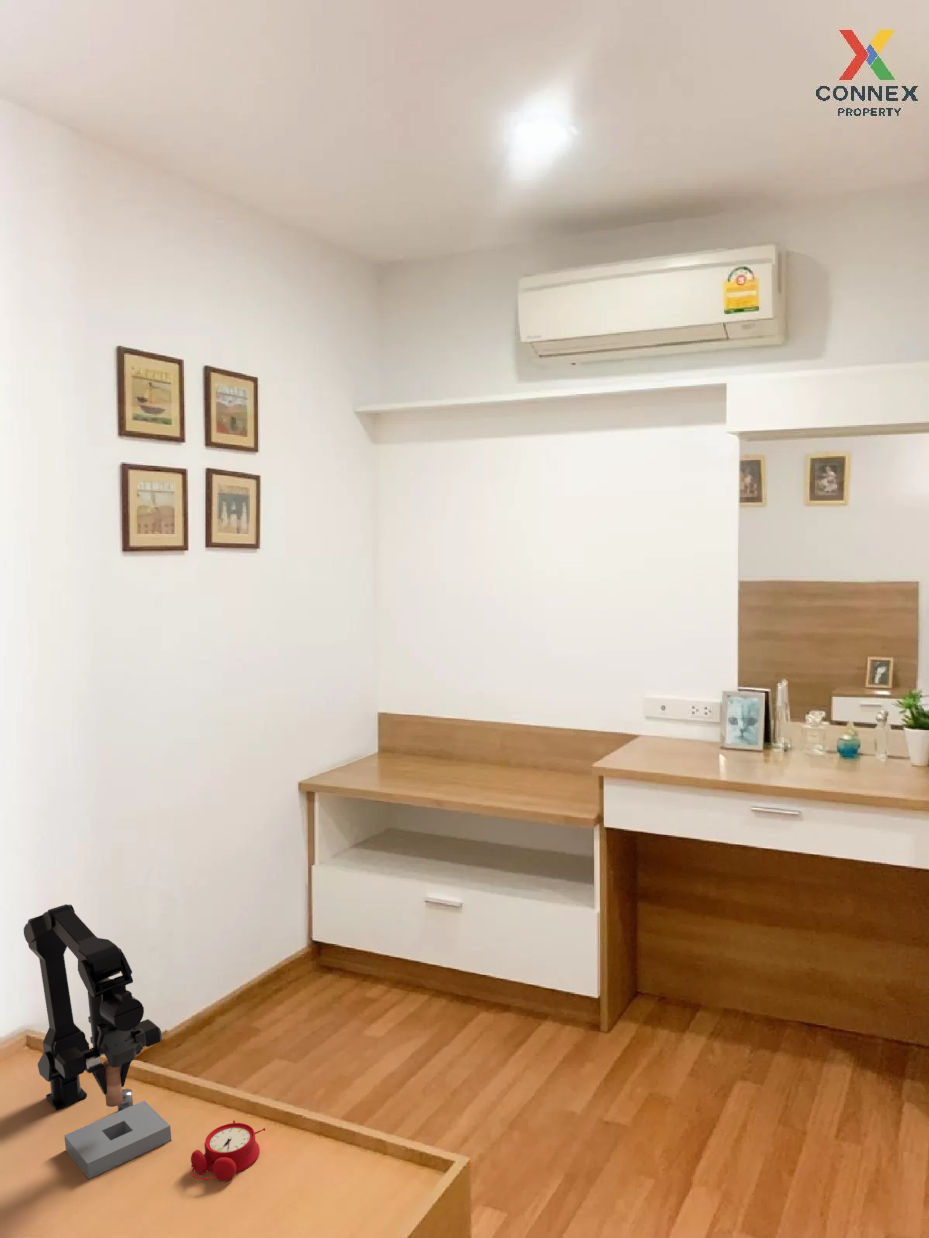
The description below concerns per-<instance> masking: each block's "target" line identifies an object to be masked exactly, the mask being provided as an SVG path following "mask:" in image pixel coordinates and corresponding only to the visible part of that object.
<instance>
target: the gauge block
mask: <svg viewBox="0 0 929 1238" xmlns="http://www.w3.org/2000/svg"><path fill="white" fill-rule="evenodd" d="M171 1130H172V1129H171V1125H170V1124H169V1123H168V1121H166V1120H165V1119H164V1118H163V1117H162V1116H161V1115H160V1114H159V1113H158V1112H157V1111H156V1110H155V1109H154V1108H153V1107H152V1105H150V1104H149V1103H148V1102H147V1101H146V1100H141V1101H139V1102H137V1103H134V1104H133V1106H130V1107H128V1108H126V1109H123V1110H121V1111H119V1112H118V1111H117V1112H114V1113H112V1114H110V1115H107V1116H105V1117H103V1118H101V1119H98V1120H96V1121H94V1122H91V1123H90V1124H86V1125H85V1126H83V1127H80V1128H78V1129H76V1130H73V1131H71V1132H69V1133H66V1134H65V1135H63V1136H64V1137H63V1138H64V1145H65V1151H66V1153H67V1154H69V1155H68V1156H70V1157H71V1158H72V1160H73V1161H74V1162H75V1163H76V1165H77V1166H78V1167H79V1168H80V1171H82V1173H84V1175H85V1176H86V1177H87V1179H88V1180H90V1179H92V1178H94V1177H97V1176H99V1175H101V1174H103V1173H105V1172H107V1171H110V1170H112V1169H113V1168H116V1167H117V1166H120V1165H122V1164H124V1163H127V1162H128V1161H130V1160H131V1161H132V1160H133V1159H134V1158H137V1157H139V1156H141V1155H144V1154H145V1153H148V1152H150V1151H152V1150H154V1149H157V1148H158V1147H161V1146H163V1145H164V1144H167V1143H169V1142H171V1141H172V1131H171Z"/></svg>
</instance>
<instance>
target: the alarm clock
mask: <svg viewBox="0 0 929 1238" xmlns="http://www.w3.org/2000/svg"><path fill="white" fill-rule="evenodd" d="M263 1131H266V1128H265V1127H264V1128H262V1129H260V1130H258V1131H255V1130H254V1128H253V1127H252V1126H250V1125H249V1124H246V1123H242V1122H236V1120H232V1123H227V1124H224V1125H221V1126H218V1127H217V1128H215V1129H213V1130H212V1131H210V1132H209V1134H207V1135H206V1138H205V1140H204V1141H205V1142H204V1153H203V1152H202V1150H200V1149H195V1150H194V1151H193V1152H192V1153H191V1156H190V1162H191V1167H192V1168H191V1171H190V1175H191V1176H192V1177H193V1178H194V1179H198V1180H202V1181H207V1180H208V1181H209V1180H212V1179H214V1178H216V1179H217V1180H219V1181H222V1182H225V1181H230V1180H232V1179H233V1178H234V1176H235V1175H236V1174H237V1173H239V1172H242V1171H244V1170H246V1169H248V1168H249V1167H251V1166H252V1165H253V1164H255V1162H256V1161H257V1160H258V1158H259V1156H260V1151H261V1149H260V1145H259V1143H258V1142H257V1140H256V1135H257V1134H259V1133H261V1132H263ZM193 1171H194V1172H195V1173H196V1174H198V1175H205V1174H206V1173H207V1172H209V1173H211V1174H213V1175H212V1176H211V1177H205V1178H204V1177H200V1176H196V1175H194V1174H193Z"/></svg>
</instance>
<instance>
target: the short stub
mask: <svg viewBox="0 0 929 1238" xmlns="http://www.w3.org/2000/svg"><path fill="white" fill-rule="evenodd" d="M122 1097H123V1102H122V1103H121V1104H120V1105H118V1106H116V1107H117V1112H119V1111H121V1110H123V1109H126V1108H128V1107H130V1106H133V1105H134V1099H133V1091H132V1089H130V1088H122Z"/></svg>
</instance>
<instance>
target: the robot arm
mask: <svg viewBox="0 0 929 1238" xmlns="http://www.w3.org/2000/svg"><path fill="white" fill-rule="evenodd" d="M23 937H24V939H25V941H26V942H27V945H28V948H29V949H30V951H31V952H32V953H33V954H34V955H35V956H36V957H38V961H39V965H40V974H41V980H42V987H43V993H44V994H43V995H44V999H45V1006H46V1014H47V1019H48V1020H47V1021H48V1029H47V1032H46V1034H45V1036H44V1038H43V1040H42V1041H43V1042H42V1047H43V1053H42V1055H41V1057H40V1059H39V1061H38V1062H37V1068H38V1072H39V1075H40V1076H41V1077H42V1078H43V1079H44V1080H45V1081H47V1082H48V1083H50V1091H51V1092H50V1093H47V1094H46V1095H45V1098H46V1100H47V1101H48V1102H49V1103H50V1104H51V1106H52V1107H53V1108H54V1109H55V1110H59V1109H61V1108H64V1107H66V1106H69V1105H71V1104H73V1103H76V1102H78V1101H80V1100H84V1099H86V1098H87V1097H88V1094H87V1093H86V1091H85V1090H84V1089H83V1088H82V1087H81V1081H80V1080H81V1079H80V1075H82V1074H84V1072H87V1074H92V1076H93V1077H94V1079H95V1082H96V1083H97V1084H98V1087H99V1089H100V1091H101V1092H102V1093H103V1095H105V1094H107V1087H106V1082H105V1077H104V1067H105V1066H104V1065H103V1063H102V1062H101V1057H102V1056H105V1058H106V1060H108V1061H109V1064H110V1066H111V1067H119V1066H120V1076H121V1087H122V1088H123V1087H124V1086H125V1084H126V1080H127V1077H128V1073H129V1069H130V1066H131V1063H132V1062H133V1061H134V1060H136V1057H137V1055H140V1054H141V1052H142V1050H143V1049H144V1047H147V1048H148V1047H151V1046H154V1045H156V1044H159V1043H161V1042H162V1040H163V1037H162V1030H161V1028H160V1027H159V1026H158V1025H156V1024H155V1023H154V1022H153V1021H152V1020H150V1019H149V1018H147V1019H145V1020H143V1017H144V1014H145V1007H144V1005H143V1003H142V1002H141V1000H138V999H137V998H136V997H134V996H133V994H132V992H131V990H127V987H126V986H128V985H130V984H133V982H134V979H133V976H132V974H133V971H132V970H133V969H132V968H131V967H130V964H129V961H128V960H127V958H126V955H125V954H124V952H123V951H122V949H121V948H120V947H118V946H117V944H115V943H114V942H112V941H111V940H110V939H107V938H101V937H100V938H99V937H97V935H95V934H94V932H93V931H92V930H91V929H90V928H89V927H88V926H87V925H86V923H84V921H83V920H82V919H81V918H80V917H79V916H78V915H77V914H76V913H75V909H74V907H73V905H72V904H71V903H69V904H67V903H65V904H61V905H59V906H55V907H53V908H49V909H48V910H47V911H45V912H43V914H41V915H38V916H35V917H32V918H29V919H28V920H27V923H25V925H24V927H23ZM67 948H68V949H69V951H70V952H72V954H73V955H74V956H75V957H76V959H77V971H78V974H79V977H80V978H81V980H82V983H83V986H84V987H85V988H86V990H87V997H88V998H87V1000H88V1009H89V1016H88V1023H89V1024H90V1030H91V1036H90V1040H89V1041H90V1043H89V1042H88V1041H87V1039H86V1033H85V1032H84V1031H83V1030H81V1029H80V1027H78V1025H76V1024H75V1022H74V1021H75V1020H74V1016H73V1008H72V1000H71V995H70V988H69V982H68V975H67V968H66V960H65V954H66V953H65V952H66V950H67ZM120 973H121V975H119V976H116V975H118V974H120ZM114 976H116V977H114ZM110 977H114V978H110ZM90 1044H92V1047H91V1048H90Z"/></svg>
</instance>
